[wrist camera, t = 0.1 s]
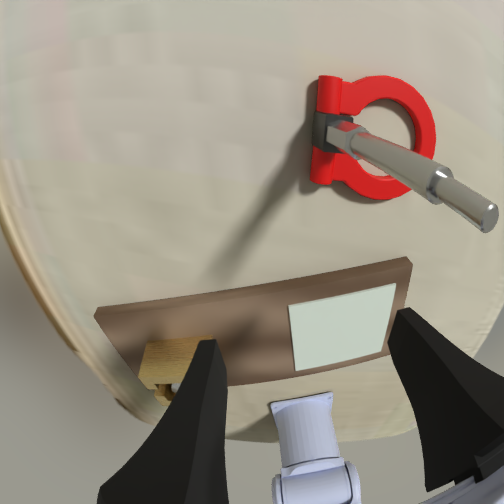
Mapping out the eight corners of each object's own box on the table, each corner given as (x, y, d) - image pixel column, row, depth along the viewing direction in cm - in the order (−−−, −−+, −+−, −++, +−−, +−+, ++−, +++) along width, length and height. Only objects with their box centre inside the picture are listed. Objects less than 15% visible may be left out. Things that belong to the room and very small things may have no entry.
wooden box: (225, 367, 25) (225, 403, 21) (168, 372, 25) (162, 405, 22) (211, 334, 22) (209, 374, 19) (147, 340, 23) (137, 377, 19)
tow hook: (432, 93, 14) (314, 61, 13) (589, 144, 3) (496, 35, 2) (415, 197, 19) (303, 190, 18) (535, 306, 8) (411, 351, 7)
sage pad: (380, 349, 25) (380, 351, 25) (295, 369, 26) (295, 371, 25) (395, 282, 20) (396, 284, 20) (288, 305, 21) (288, 306, 21)
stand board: (386, 346, 27) (390, 354, 26) (150, 381, 28) (148, 389, 27) (406, 256, 21) (412, 264, 20) (97, 307, 22) (93, 316, 21)
